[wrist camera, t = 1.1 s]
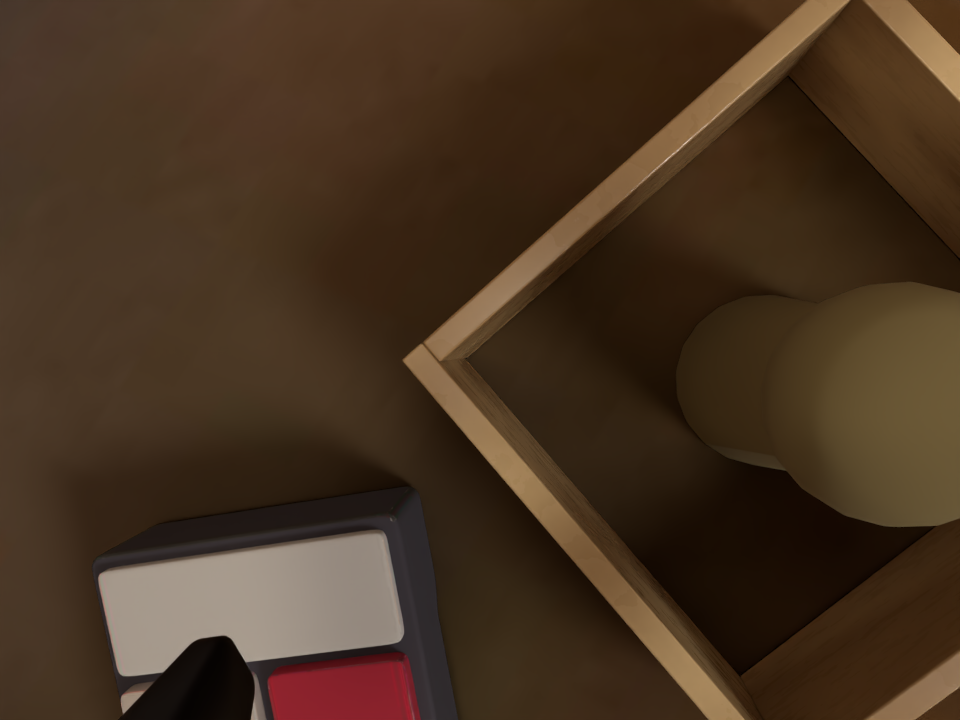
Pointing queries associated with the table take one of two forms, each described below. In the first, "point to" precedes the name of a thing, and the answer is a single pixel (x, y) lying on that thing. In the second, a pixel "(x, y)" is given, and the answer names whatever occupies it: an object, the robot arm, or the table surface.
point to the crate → (441, 357)
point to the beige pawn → (837, 396)
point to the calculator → (289, 606)
